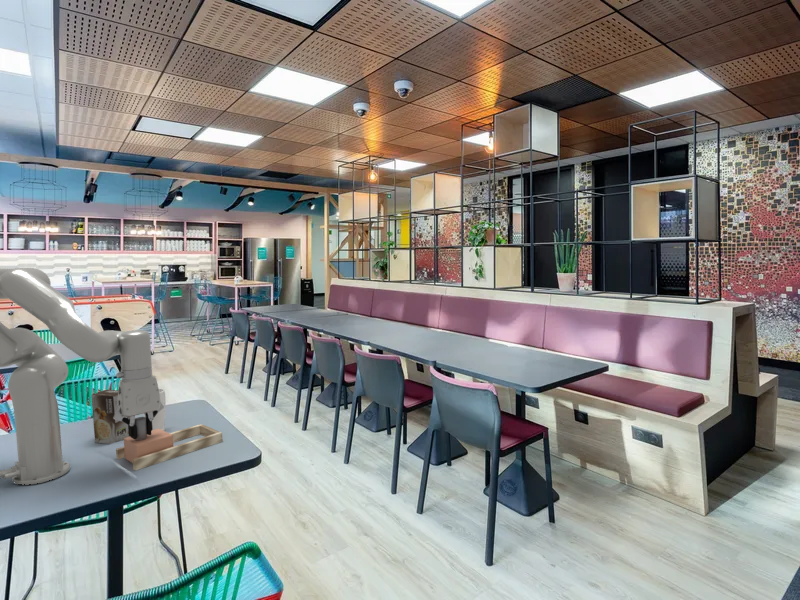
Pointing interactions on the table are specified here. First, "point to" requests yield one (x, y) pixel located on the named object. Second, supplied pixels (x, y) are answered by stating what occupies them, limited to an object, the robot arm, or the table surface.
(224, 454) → the table surface
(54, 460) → the robot arm
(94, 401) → the coffee box
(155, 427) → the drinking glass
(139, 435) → the salmon block with knob
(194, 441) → the bay
